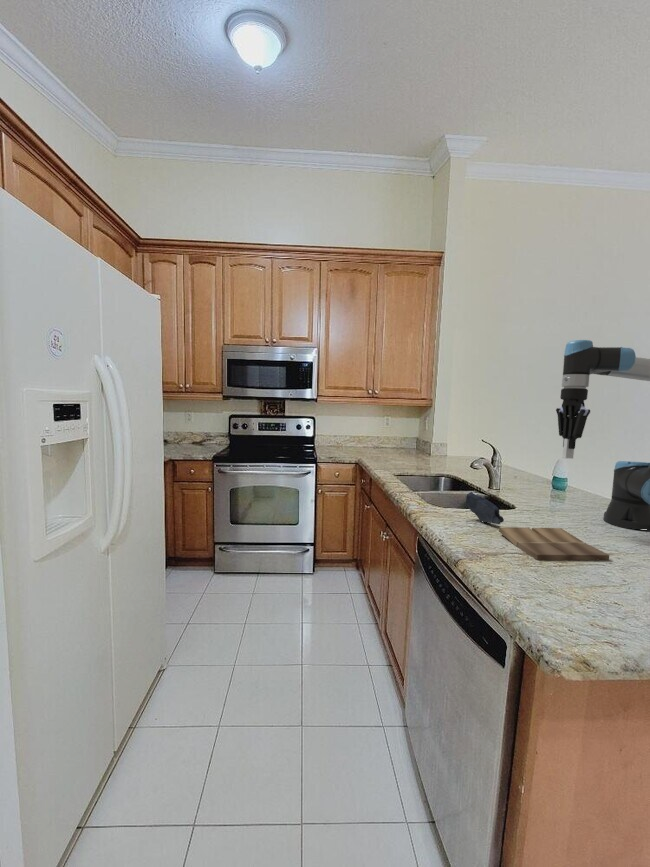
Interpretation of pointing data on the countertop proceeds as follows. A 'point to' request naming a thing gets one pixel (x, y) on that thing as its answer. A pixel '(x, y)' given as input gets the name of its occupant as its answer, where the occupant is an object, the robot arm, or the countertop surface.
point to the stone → (483, 509)
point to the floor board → (562, 551)
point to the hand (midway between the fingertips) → (567, 458)
